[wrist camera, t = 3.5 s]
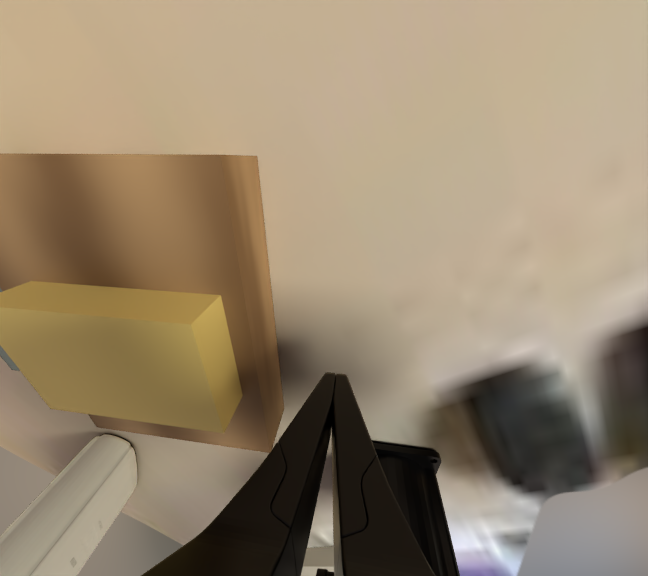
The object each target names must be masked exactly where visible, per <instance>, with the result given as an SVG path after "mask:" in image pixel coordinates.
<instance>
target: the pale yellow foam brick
mask: <svg viewBox="0 0 648 576" xmlns="http://www.w3.org/2000/svg"><path fill="white" fill-rule="evenodd" d="M0 346H1V347H2V348H3V349H4V351H5V352H6V353H7V354H8V356H9V357H10V358H11V359H12V361H13V362H14V363H15V364H16V366H17V367H18V368H19V370H20V371H21V372H22V373H23V375H24V376H25V377H26V378H27V380H28V381H29V382H30V383H31V385H32V386H33V387H34V388H35V390H36V391H37V392H38V394H39V395H40V396H41V397H42V399H43V400H44V401H45V402H46V404H47V405H48V406H49V407H50V409H56V410H63V411H70V412H77V413H84V414H91V415H98V416H105V417H112V418H119V419H126V420H133V421H140V422H147V423H154V424H161V425H168V426H175V427H182V428H189V429H196V430H203V431H210V432H217V433H224V432H225V430H226V428H227V426H228V424H229V422H230V420H231V418H232V416H233V414H234V412H235V410H236V408H237V406H238V404H239V402H240V400H241V398H242V396H243V394H242V389H241V385H240V380H239V376H238V371H237V367H236V362H235V358H234V353H233V348H232V344H231V339H230V335H229V330H228V326H227V321H226V317H225V312H224V307H223V303H222V298H221V295H211V294H197V293H184V292H171V291H157V290H144V289H130V288H117V287H104V286H90V285H77V284H64V283H50V282H37V281H30V282H27V283H24V284H22V285H19V286H16V287H14V288H11V289H8V290H5V291H3V292H0Z"/></svg>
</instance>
